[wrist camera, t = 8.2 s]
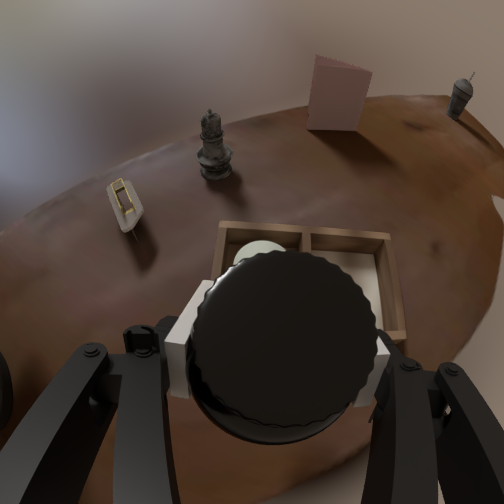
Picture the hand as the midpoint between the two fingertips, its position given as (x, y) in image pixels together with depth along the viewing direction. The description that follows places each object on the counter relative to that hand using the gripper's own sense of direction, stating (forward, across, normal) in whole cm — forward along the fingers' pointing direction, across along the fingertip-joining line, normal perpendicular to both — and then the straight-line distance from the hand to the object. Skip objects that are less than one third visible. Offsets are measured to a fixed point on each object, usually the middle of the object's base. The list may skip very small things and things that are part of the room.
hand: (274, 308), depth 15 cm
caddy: (+17, +5, -6) cm, 19 cm away
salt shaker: (+32, -10, +9) cm, 35 cm away
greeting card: (+44, +11, +20) cm, 49 cm away
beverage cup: (+62, +60, +40) cm, 95 cm away
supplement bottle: (0, 0, -5) cm, 5 cm away
